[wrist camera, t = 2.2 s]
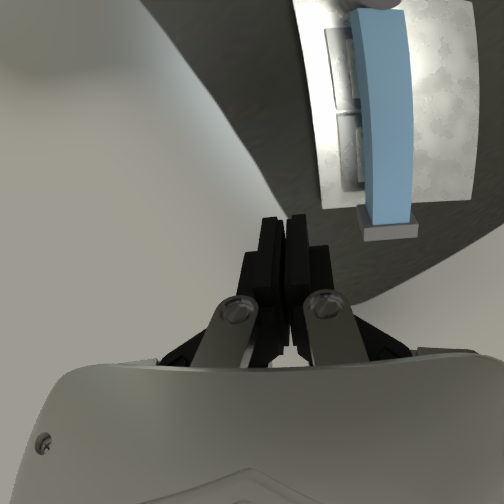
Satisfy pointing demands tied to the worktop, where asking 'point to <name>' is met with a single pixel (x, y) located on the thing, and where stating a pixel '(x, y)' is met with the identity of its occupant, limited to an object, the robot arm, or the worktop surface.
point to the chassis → (424, 98)
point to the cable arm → (385, 118)
